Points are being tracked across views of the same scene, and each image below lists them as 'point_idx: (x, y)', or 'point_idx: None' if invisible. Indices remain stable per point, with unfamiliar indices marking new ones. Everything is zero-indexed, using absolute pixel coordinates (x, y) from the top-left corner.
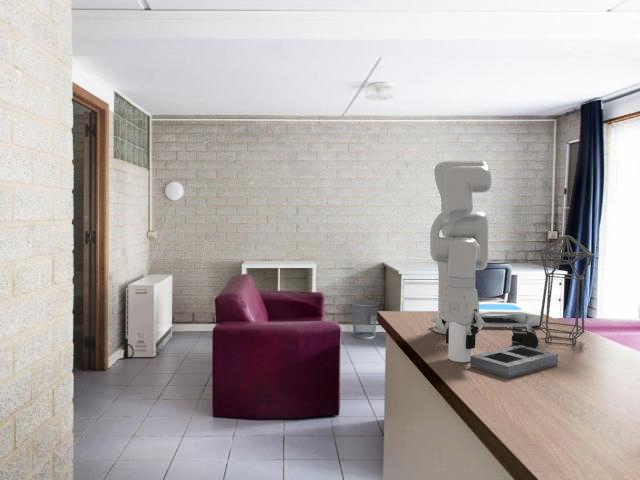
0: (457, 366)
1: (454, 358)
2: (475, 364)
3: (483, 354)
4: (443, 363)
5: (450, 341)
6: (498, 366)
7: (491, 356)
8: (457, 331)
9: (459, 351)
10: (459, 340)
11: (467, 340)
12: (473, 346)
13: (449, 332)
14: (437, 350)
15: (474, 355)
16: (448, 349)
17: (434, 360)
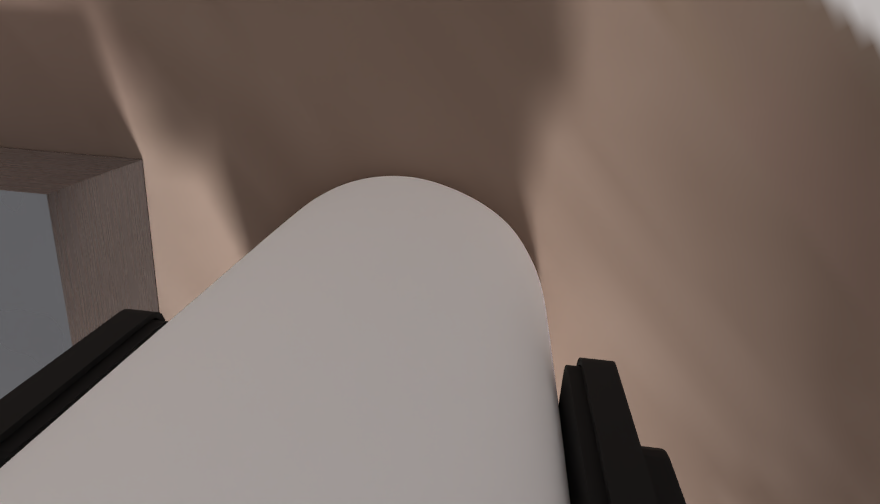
0: (231, 45)
1: (365, 182)
2: (32, 162)
3: None
4: (430, 3)
5: (414, 283)
6: None
7: None
8: (74, 425)
9: (265, 239)
10: (175, 320)
11: (28, 386)
12: None
13: (445, 419)
14: (860, 451)
15: (40, 259)
16: (514, 271)
17: (610, 21)
